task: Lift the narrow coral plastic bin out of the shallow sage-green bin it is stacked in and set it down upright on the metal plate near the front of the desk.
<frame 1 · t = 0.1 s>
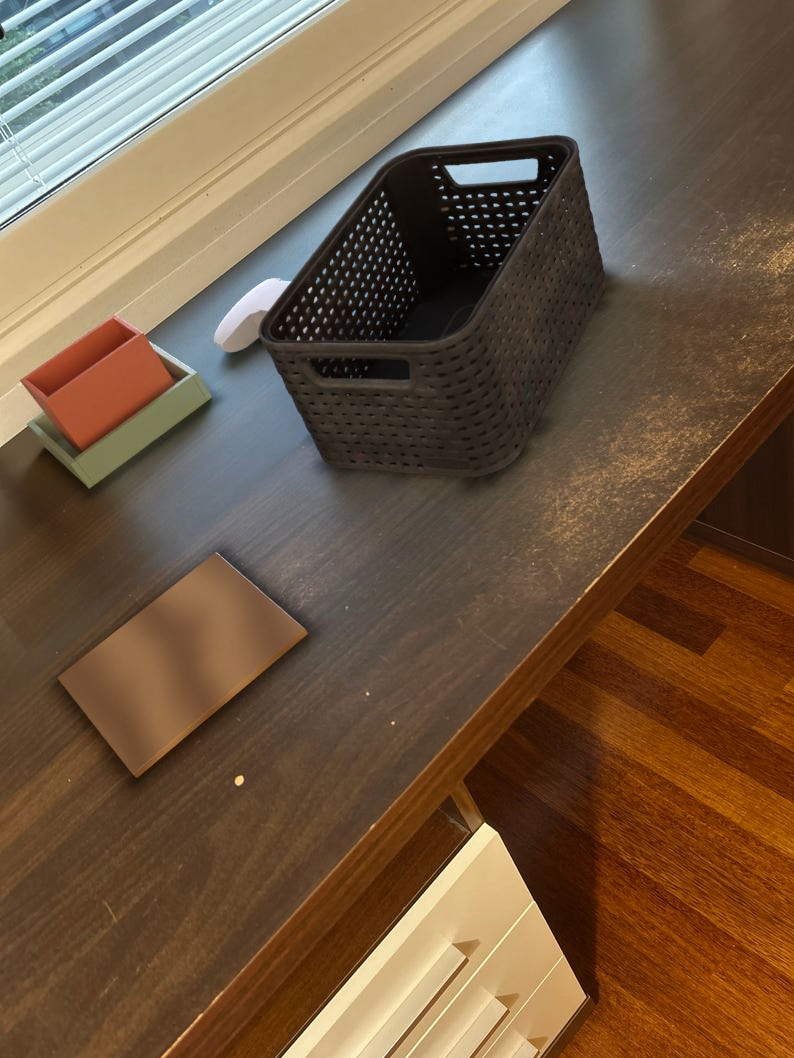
coral bin: (126, 422, 101), point 1 cm above the table, touching green bin
metal plate: (181, 658, 79), on the table
storage bin: (469, 368, 92), on the table
green bin: (130, 426, 102), on the table
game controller: (295, 339, 103), on the table
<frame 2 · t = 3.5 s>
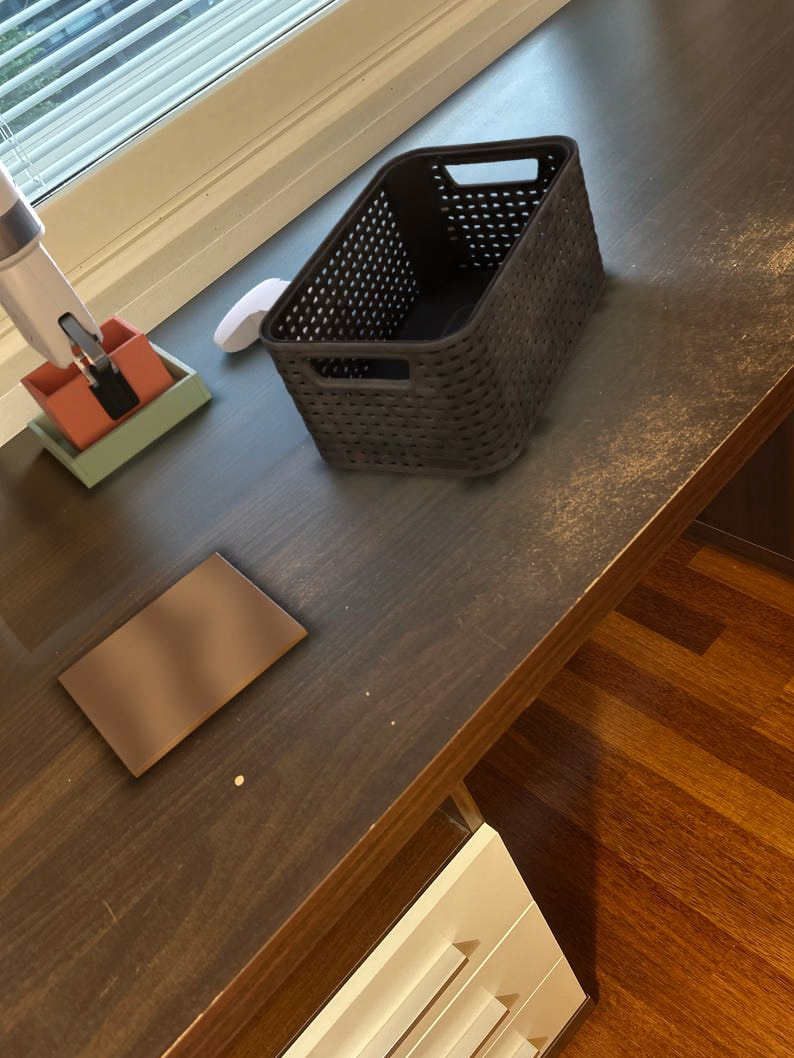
hand: (110, 397, 99), 4 cm above the table, tool pointing down, fingers closed on coral bin, 6 cm apart
coral bin: (126, 422, 101), point 1 cm above the table, touching green bin, gripper
everything else where it was.
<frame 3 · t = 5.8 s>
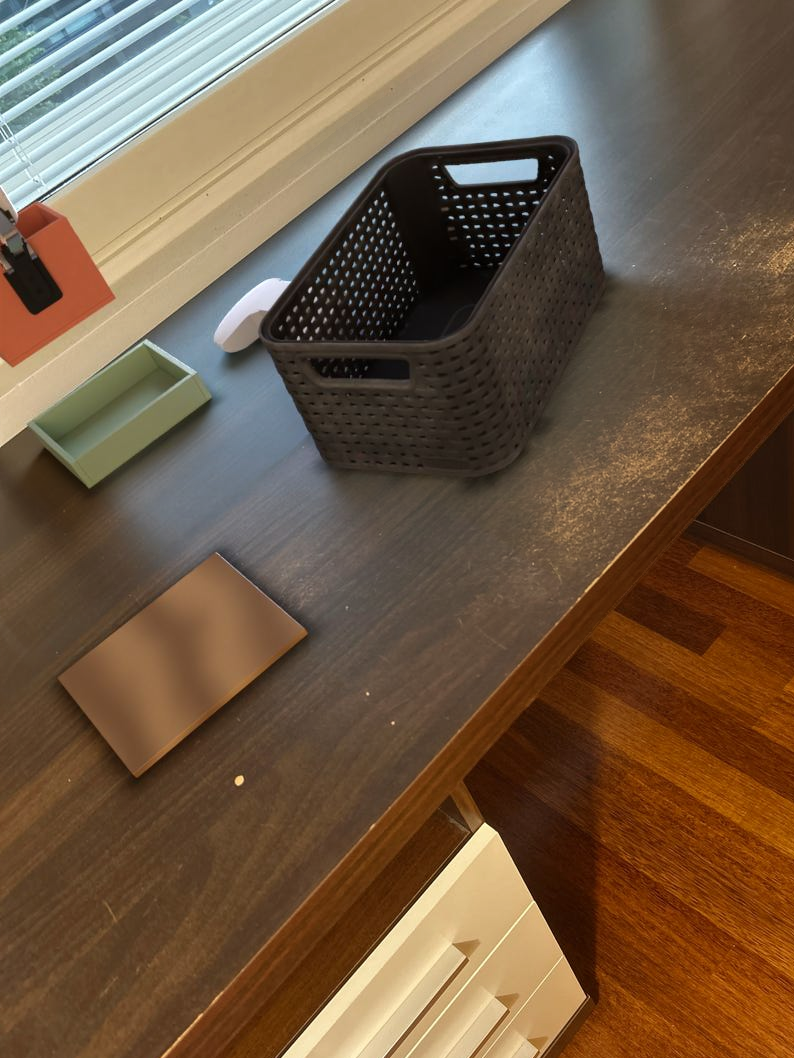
hand: (31, 293, 90), 16 cm above the table, tool pointing down, fingers closed on coral bin, 6 cm apart
coral bin: (51, 322, 92), point 13 cm above the table, touching gripper
everything else where it was.
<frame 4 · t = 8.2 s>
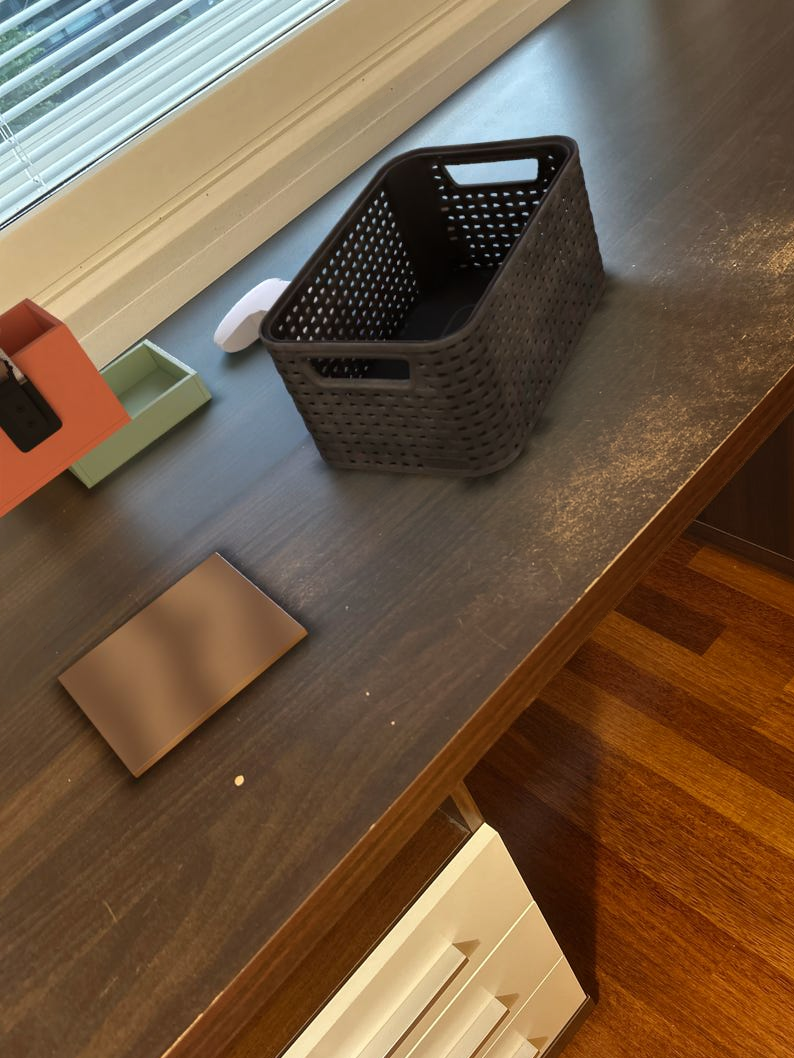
hand: (21, 418, 68), 20 cm above the table, tool pointing down, fingers closed on coral bin, 6 cm apart
coral bin: (48, 452, 71), point 17 cm above the table, touching gripper
everything else where it was.
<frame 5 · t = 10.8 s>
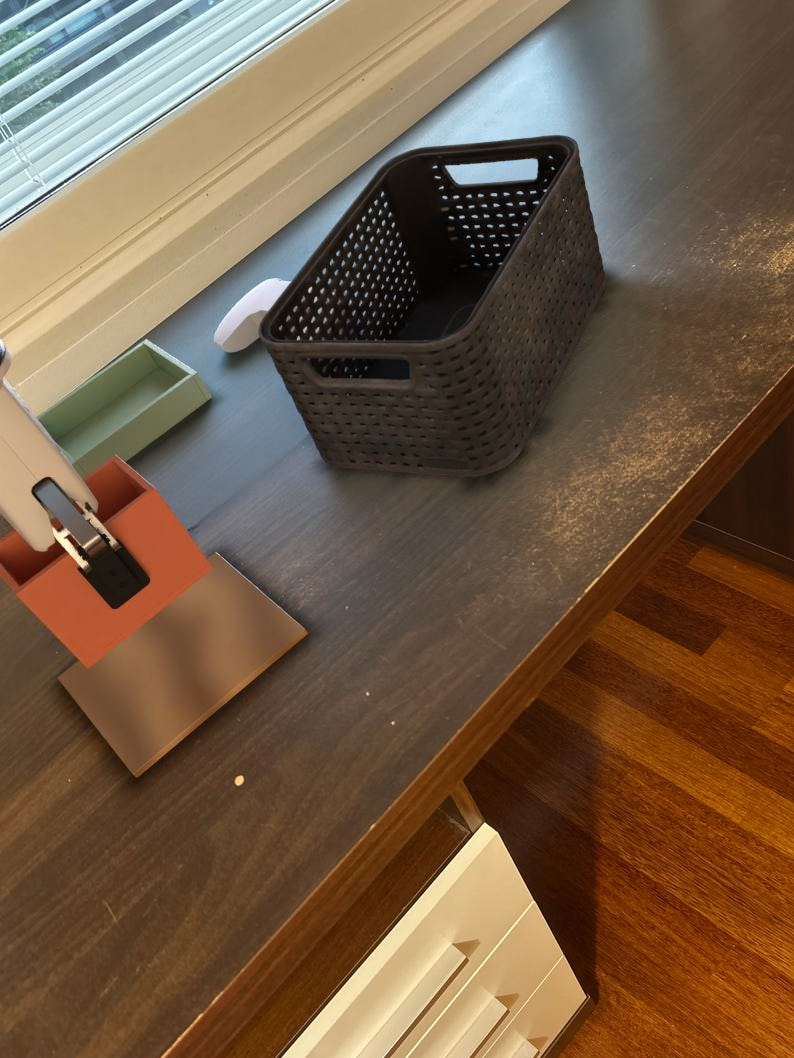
hand: (108, 570, 71), 10 cm above the table, tool pointing down, fingers closed on coral bin, 6 cm apart
coral bin: (132, 597, 73), point 7 cm above the table, touching gripper
everything else where it was.
when the fingers open (4 cm above the table, at t = 13.0 s): coral bin stays where it is, resting on metal plate.
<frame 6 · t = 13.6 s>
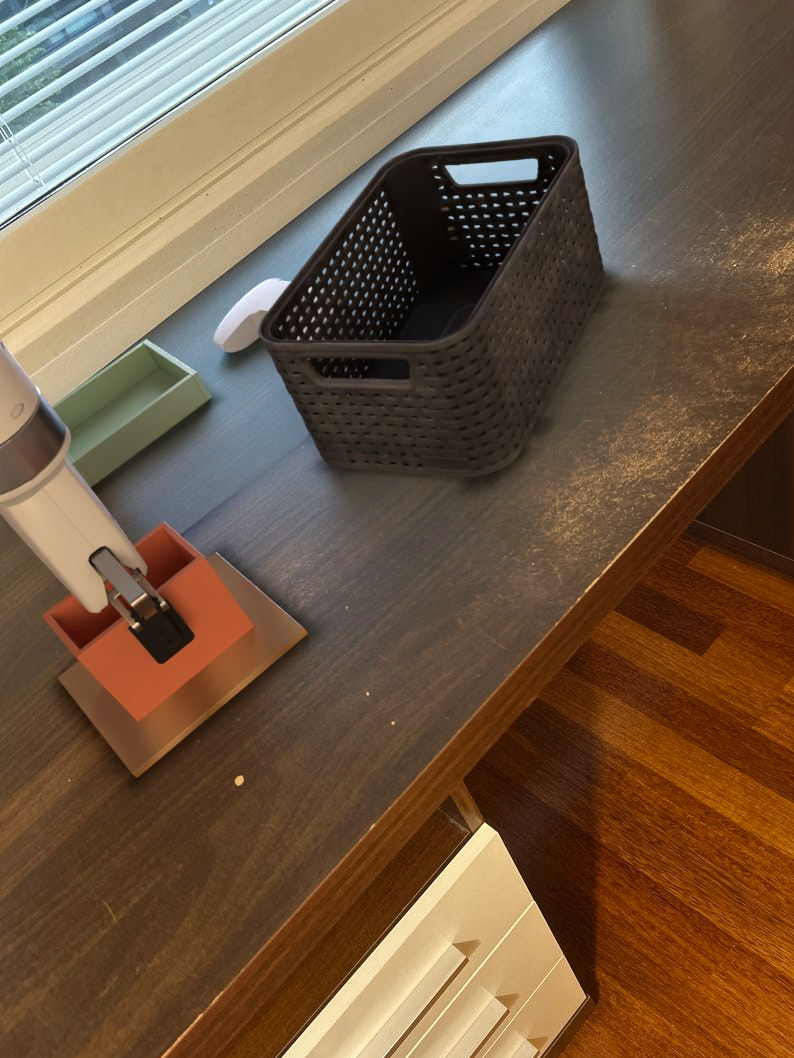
hand: (146, 618, 75), 5 cm above the table, tool pointing down, fingers open, 9 cm apart
coral bin: (178, 653, 78), point 1 cm above the table, touching metal plate
everything else where it was.
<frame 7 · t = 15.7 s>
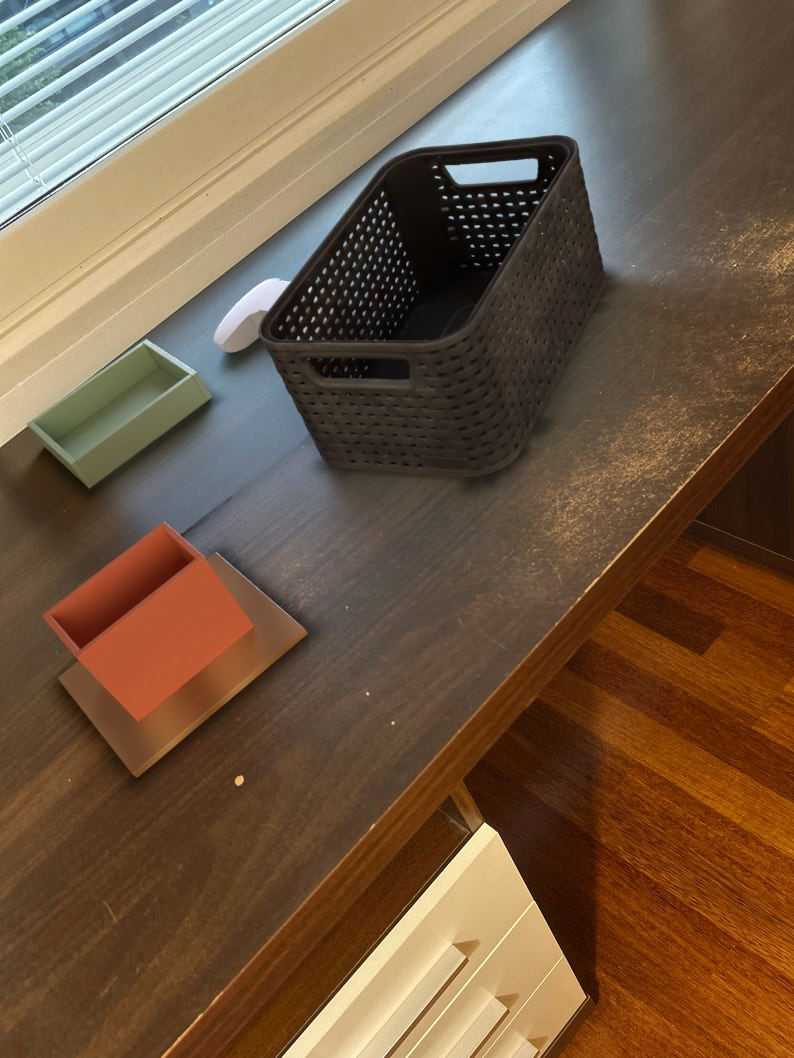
nothing on the table moved.
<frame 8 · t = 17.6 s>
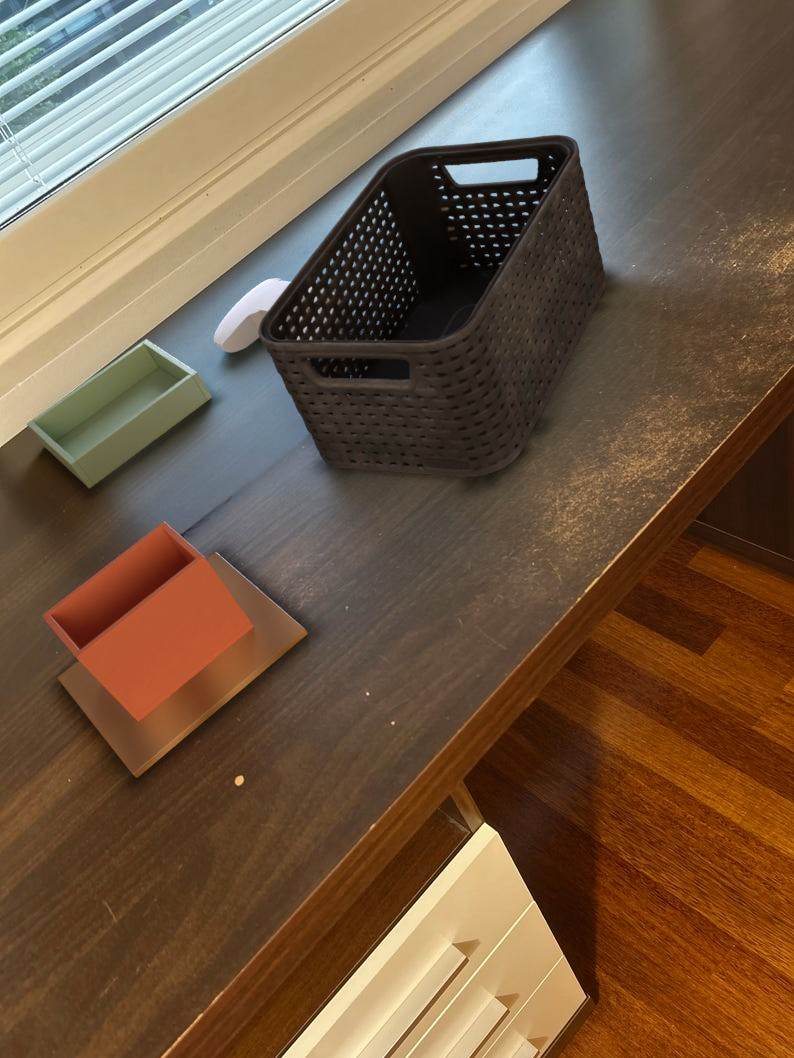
nothing on the table moved.
at the end: coral bin inside the target area on the metal plate (0.1 cm from its centre), point 0.6 cm above the metal plate's base; coral bin tilted 0°; coral bin touching metal plate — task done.
